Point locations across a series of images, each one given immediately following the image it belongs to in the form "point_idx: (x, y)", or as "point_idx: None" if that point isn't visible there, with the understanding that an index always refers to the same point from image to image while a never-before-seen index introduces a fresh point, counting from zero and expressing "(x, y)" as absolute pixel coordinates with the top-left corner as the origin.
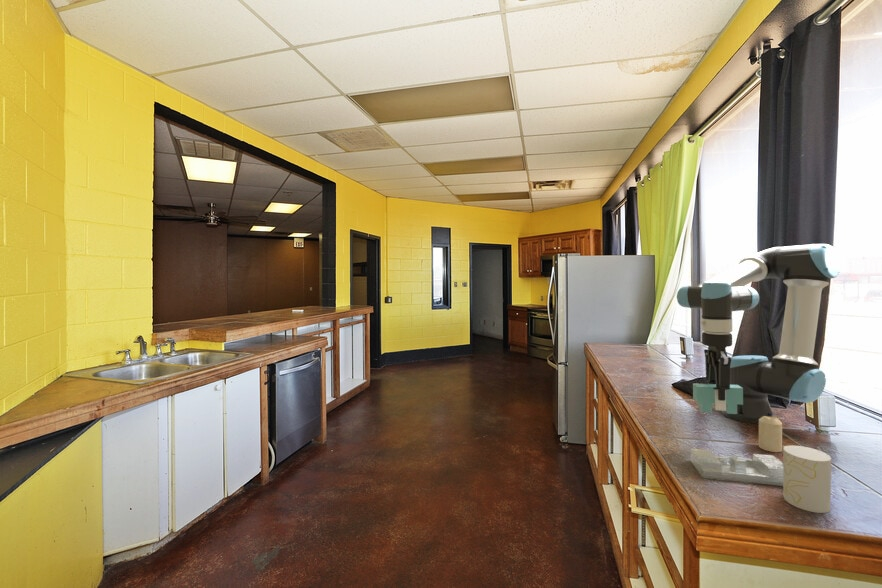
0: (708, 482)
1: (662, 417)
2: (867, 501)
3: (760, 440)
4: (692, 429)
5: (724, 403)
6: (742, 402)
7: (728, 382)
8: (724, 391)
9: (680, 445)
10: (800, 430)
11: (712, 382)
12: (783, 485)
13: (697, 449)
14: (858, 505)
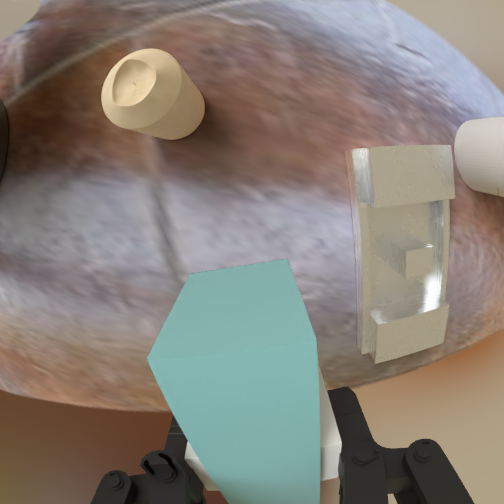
0: None
1: (68, 358)
2: (430, 36)
3: (177, 135)
4: (110, 307)
5: (318, 369)
6: (289, 268)
7: (459, 486)
8: (371, 440)
9: None
10: (29, 43)
11: (198, 495)
12: (490, 193)
13: (378, 351)
14: (453, 63)
